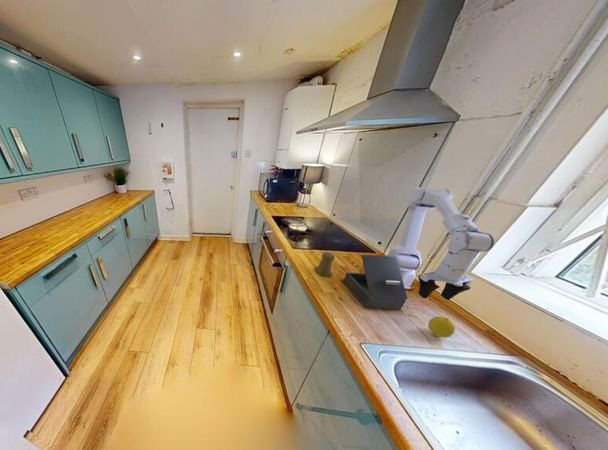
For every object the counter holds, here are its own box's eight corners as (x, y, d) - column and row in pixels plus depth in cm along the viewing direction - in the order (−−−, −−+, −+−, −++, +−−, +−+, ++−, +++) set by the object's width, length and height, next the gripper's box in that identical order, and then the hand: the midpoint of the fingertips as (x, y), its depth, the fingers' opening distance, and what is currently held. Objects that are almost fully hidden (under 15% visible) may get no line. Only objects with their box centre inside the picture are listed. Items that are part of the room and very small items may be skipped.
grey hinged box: (343, 281, 92) (346, 272, 89) (372, 283, 91) (377, 274, 89) (365, 307, 78) (370, 297, 75) (400, 310, 77) (406, 299, 75)
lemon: (450, 345, 64) (463, 328, 61) (426, 337, 67) (438, 320, 63) (443, 332, 68) (455, 316, 65) (421, 325, 71) (432, 308, 68)
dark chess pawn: (331, 276, 94) (338, 257, 90) (318, 275, 95) (324, 255, 91) (327, 269, 100) (333, 250, 95) (314, 267, 101) (320, 249, 96)
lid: (361, 255, 81) (368, 253, 77) (395, 257, 80) (404, 255, 77) (369, 296, 76) (378, 296, 72) (405, 299, 75) (416, 299, 71)
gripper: (443, 271, 61) (422, 304, 66) (493, 274, 60) (467, 307, 66) (422, 258, 67) (404, 289, 73) (467, 261, 66) (445, 292, 72)
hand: (433, 297), depth 70 cm, fingers open, 7 cm apart
